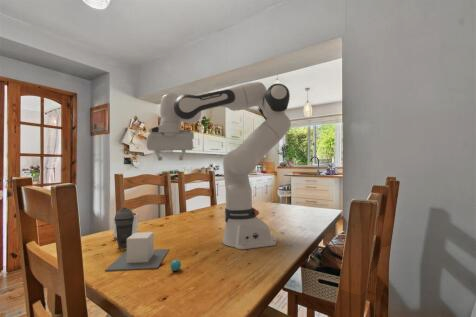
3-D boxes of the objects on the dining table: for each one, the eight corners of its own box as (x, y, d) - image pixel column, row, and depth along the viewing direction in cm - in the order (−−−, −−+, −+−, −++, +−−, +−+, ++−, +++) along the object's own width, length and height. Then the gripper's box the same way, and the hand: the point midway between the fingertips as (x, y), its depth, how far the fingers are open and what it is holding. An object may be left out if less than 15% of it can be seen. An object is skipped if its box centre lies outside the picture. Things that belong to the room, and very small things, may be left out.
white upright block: (153, 254, 83) (153, 232, 83) (147, 262, 76) (147, 237, 76) (134, 255, 82) (134, 232, 83) (126, 263, 76) (126, 238, 76)
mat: (168, 249, 88) (168, 248, 88) (157, 268, 72) (157, 267, 72) (126, 251, 87) (126, 250, 87) (105, 271, 71) (105, 270, 71)
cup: (113, 241, 99) (113, 218, 99) (113, 235, 108) (113, 214, 108) (138, 237, 104) (138, 215, 104) (136, 232, 113) (136, 212, 113)
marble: (181, 268, 72) (181, 257, 72) (180, 272, 69) (180, 262, 69) (171, 268, 72) (171, 258, 72) (169, 273, 69) (169, 262, 69)
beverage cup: (126, 250, 88) (126, 198, 89) (110, 249, 90) (110, 198, 90) (138, 244, 95) (137, 196, 96) (122, 243, 97) (122, 196, 97)
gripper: (194, 130, 107) (194, 160, 107) (149, 131, 106) (149, 160, 105) (192, 128, 101) (193, 159, 100) (145, 128, 99) (145, 160, 99)
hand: (170, 160), depth 103 cm, fingers open, 8 cm apart
